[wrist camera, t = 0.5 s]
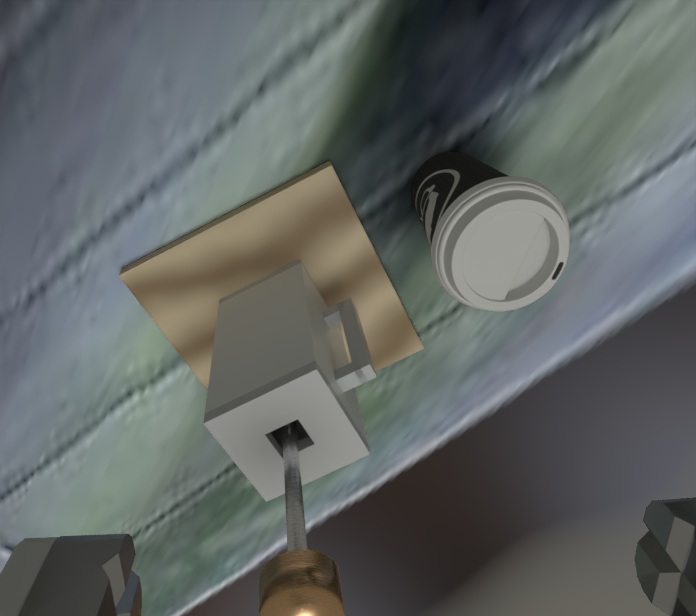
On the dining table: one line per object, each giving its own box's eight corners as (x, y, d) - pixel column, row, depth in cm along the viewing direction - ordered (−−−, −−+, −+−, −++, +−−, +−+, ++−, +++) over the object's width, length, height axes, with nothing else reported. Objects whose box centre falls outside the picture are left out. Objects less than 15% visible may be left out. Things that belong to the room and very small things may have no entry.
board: (122, 268, 52) (118, 275, 51) (329, 160, 50) (331, 165, 49) (242, 425, 61) (241, 435, 60) (420, 340, 59) (423, 348, 58)
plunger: (232, 366, 44) (213, 625, 27) (302, 332, 44) (331, 573, 26) (271, 420, 47) (277, 687, 29) (337, 388, 47) (385, 641, 29)
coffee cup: (447, 260, 56) (505, 345, 42) (370, 197, 52) (408, 270, 39) (523, 180, 53) (610, 245, 40) (448, 108, 49) (517, 154, 36)
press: (219, 299, 53) (203, 423, 38) (327, 245, 52) (354, 350, 37) (264, 365, 57) (266, 501, 42) (366, 316, 56) (405, 438, 41)
